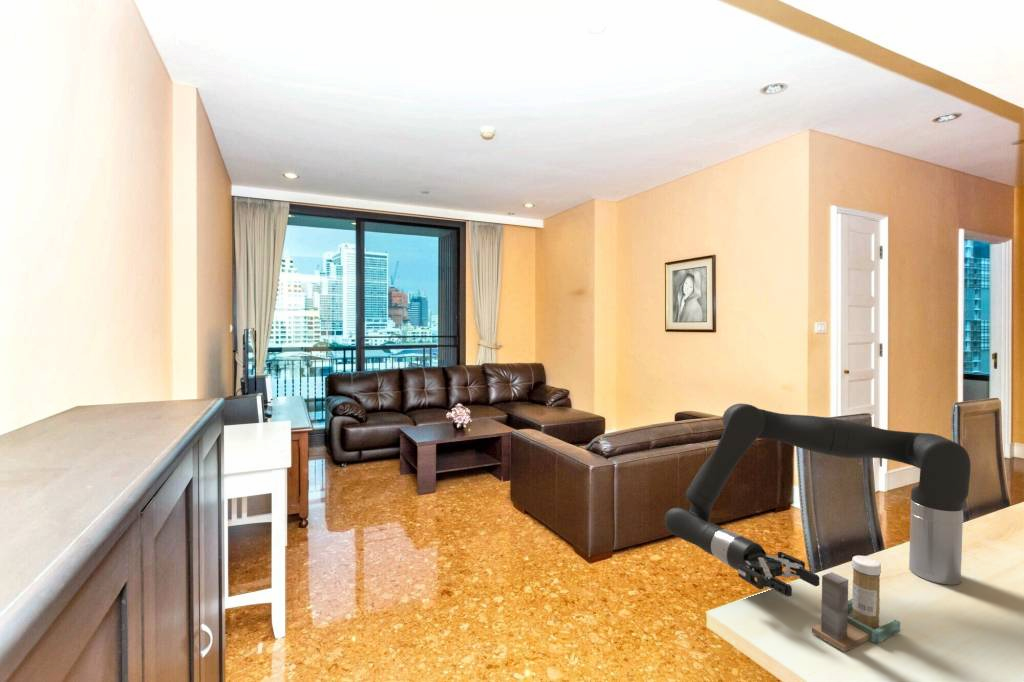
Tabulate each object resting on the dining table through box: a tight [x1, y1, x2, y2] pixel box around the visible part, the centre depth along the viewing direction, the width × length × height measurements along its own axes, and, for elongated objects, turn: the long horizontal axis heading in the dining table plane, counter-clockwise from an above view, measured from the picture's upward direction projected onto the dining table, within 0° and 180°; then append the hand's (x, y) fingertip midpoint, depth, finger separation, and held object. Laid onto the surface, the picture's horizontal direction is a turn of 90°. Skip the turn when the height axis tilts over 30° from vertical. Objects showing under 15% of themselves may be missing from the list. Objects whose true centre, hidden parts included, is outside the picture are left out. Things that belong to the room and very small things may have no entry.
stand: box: [811, 571, 901, 653], centre depth 92 cm, size 16×9×12 cm, turn 115°
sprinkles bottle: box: [851, 555, 882, 630], centre depth 94 cm, size 5×5×13 cm
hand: (804, 586), depth 95 cm, fingers open, 8 cm apart
